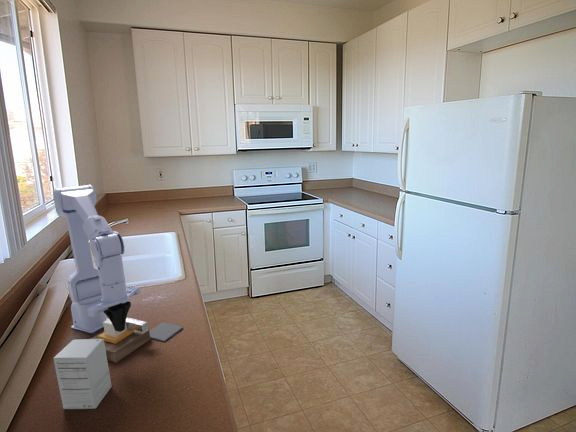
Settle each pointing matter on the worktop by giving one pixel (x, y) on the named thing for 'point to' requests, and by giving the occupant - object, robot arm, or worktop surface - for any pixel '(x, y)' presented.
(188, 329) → the worktop surface
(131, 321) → the light grey long bar
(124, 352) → the socket block
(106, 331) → the plug
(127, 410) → the worktop surface
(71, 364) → the supplement box
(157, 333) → the mat
